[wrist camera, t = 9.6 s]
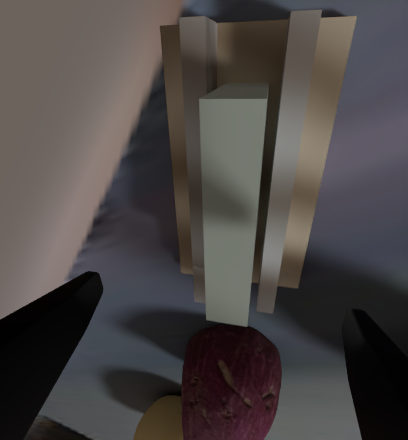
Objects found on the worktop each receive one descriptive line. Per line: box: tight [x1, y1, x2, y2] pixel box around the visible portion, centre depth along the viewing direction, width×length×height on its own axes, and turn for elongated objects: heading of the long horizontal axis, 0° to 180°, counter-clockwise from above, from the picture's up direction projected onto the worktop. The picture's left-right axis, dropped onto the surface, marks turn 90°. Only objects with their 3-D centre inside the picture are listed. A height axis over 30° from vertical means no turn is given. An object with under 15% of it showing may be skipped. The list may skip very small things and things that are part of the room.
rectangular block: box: [199, 82, 269, 327], centre depth 16 cm, size 12×2×7 cm, turn 2°
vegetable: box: [181, 324, 282, 440], centre depth 26 cm, size 10×10×15 cm
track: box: [160, 10, 357, 314], centre depth 18 cm, size 18×10×4 cm, turn 1°
